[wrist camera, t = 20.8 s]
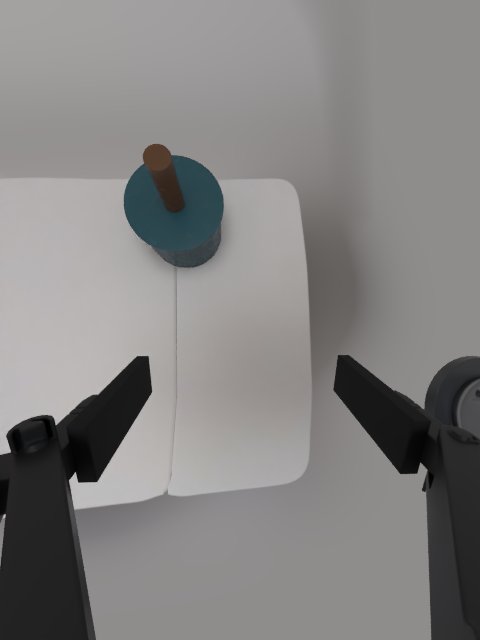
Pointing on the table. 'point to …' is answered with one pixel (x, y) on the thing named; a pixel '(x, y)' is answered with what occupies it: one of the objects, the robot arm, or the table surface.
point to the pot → (193, 253)
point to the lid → (173, 201)
